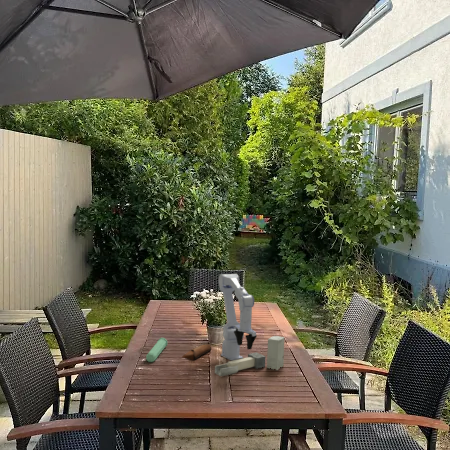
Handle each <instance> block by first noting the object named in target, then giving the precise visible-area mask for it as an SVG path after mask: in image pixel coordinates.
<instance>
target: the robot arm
mask: <svg viewBox="0 0 450 450" xmlns="http://www.w3.org/2000/svg"><path fill="white" fill-rule="evenodd" d="M218 286H219V287H218V288H219V291H221V292H222V297H223V301H224V307H225V308H224V309H225V316H226V321H227V322H226V323H225V324H224V325H223V328H222V330H223V332H222V337H223V341H222V345H221V347H222V348H221V354H220V356H222V357H223V358H226V359H227V360H229V361H234V360H239V359H243V356H242V355H240V350H241V349H240V348H241V345H242V344H243V339H244V337H245V339H246V347H247V350H249V351H250V350H251V349H252V348H253V344H254V342H255V341H256V338H257V331H255V330H254V329H253V328H252V320H253V319H252V314H253V312H252V311H253V307H255V297H254V295H252V294H249V293H248V291H247V290H246V289H245V287H244V286H241V284H240V277H239V275H238V273H230V274H229V273H224V274H223V273H220V274H219V276H218ZM233 292H234V295H235V297H236V298H237V300H238V306H239V311H240V312H239V321H238V320H237V315H236V308H235V302H234V297H233V296H234V295H233ZM245 334H246V335H245Z"/></svg>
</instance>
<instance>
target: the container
mask: <svg viewBox="0 0 450 450" xmlns="http://www.w3.org/2000/svg"><path fill="white" fill-rule="evenodd" d="M167 346H168V340H167V339H166V338H165V337H160V338H159V339H158V340H157V342H156V343H155V344H154V346H153V347H152V348H151V349H150V350H149V352H148V353H147V354H146V356H145V357H146V361H147V362H148V363H153V362H154V361H156V360H157V358H158V357H159V356H160V354H161V353H162V352H163V351H164V349H165V348H166V347H167Z"/></svg>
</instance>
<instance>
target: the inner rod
mask: <svg viewBox="0 0 450 450" xmlns="http://www.w3.org/2000/svg"><path fill="white" fill-rule="evenodd" d="M227 363H228V365H227V367H231V366H235V365H238V371H241V370H246V369H249V368H254V366H255V358H253V357H248V356H247V357H244V358H240V359H236V360H229V361H227Z"/></svg>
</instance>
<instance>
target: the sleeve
mask: <svg viewBox="0 0 450 450" xmlns="http://www.w3.org/2000/svg"><path fill="white" fill-rule="evenodd" d="M227 365H228V362H226V363H223V364H218V365H214V374H216V375H218V376H219V377H221V376H222V377H224V376H230V375H233V374H237V373H239V370H238V365H235V366H231V367H227Z"/></svg>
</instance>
